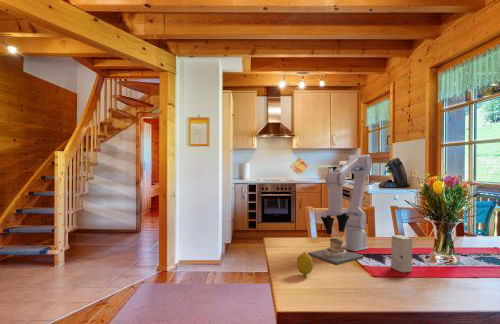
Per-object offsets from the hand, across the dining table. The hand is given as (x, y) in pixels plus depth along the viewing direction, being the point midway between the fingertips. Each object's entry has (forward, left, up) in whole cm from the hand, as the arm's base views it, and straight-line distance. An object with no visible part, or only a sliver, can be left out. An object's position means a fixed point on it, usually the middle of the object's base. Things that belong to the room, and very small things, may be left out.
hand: (335, 232), depth 133 cm
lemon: (+27, +10, -10) cm, 31 cm away
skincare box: (-7, +25, -10) cm, 28 cm away
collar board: (0, 0, -10) cm, 10 cm away
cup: (0, +1, -9) cm, 9 cm away
